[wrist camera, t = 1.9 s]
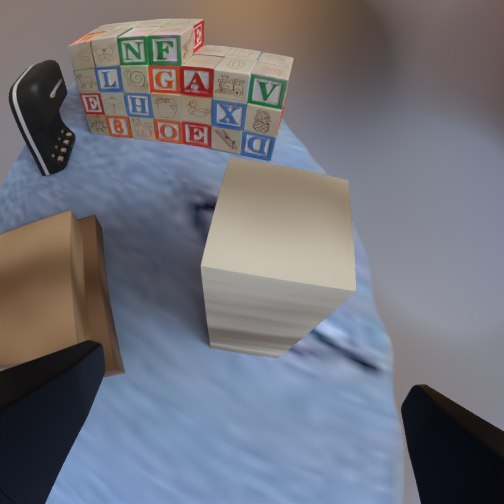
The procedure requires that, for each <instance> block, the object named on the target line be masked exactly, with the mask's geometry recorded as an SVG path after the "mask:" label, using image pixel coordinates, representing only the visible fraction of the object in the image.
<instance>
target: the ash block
mask: <svg viewBox="0 0 504 504" xmlns="http://www.w3.org/2000/svg"><path fill="white" fill-rule="evenodd" d="M201 275H202V284H203V293H204V301H205V310H206V318H207V325H208V333H209V340H210V347H211V348H215V349H221V350H226V351H232V352H239V353H245V354H252V355H259V356H266V357H274V358H278V357H280V356H281V355H282V354H283V353H285V352H286V351H287V350H288V349H290V348H291V347H292V346H293V345H295V344H296V343H297V342H298V341H299V340H301V339H302V338H303V337H304V336H306V335H307V334H308V333H309V332H310V331H311V330H313V329H314V328H315V327H316V326H317V325H319V324H320V323H321V322H322V321H323V320H324V319H325V318H327V317H328V316H329V315H330V314H331V313H332V312H333V311H335V310H336V309H337V308H338V307H339V306H340V305H341V304H342V303H343V302H345V301H346V300H347V299H348V298H349V297H350V296H351V295H352V294H353V293H354V292H355V291H356V281H355V257H354V240H353V226H352V214H351V205H350V194H349V185H348V180H344V179H340V178H336V177H332V176H328V175H323V174H319V173H314V172H310V171H305V170H300V169H295V168H290V167H285V166H280V165H275V164H269V163H264V162H258V161H252V160H246V159H240V158H234V157H229V161H228V164H227V168H226V171H225V175H224V178H223V182H222V185H221V189H220V193H219V196H218V200H217V204H216V207H215V211H214V215H213V219H212V222H211V226H210V230H209V234H208V238H207V242H206V246H205V250H204V254H203V258H202V262H201Z"/></svg>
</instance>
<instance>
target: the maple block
mask: <svg viewBox="0 0 504 504" xmlns="http://www.w3.org/2000/svg"><path fill="white" fill-rule="evenodd" d="M86 340H92V338H91V331H90V325H89V317H88V309H87V300H86V290H85V277H84V260H83V229H82V228H81V226H80V224H79V223H78V221H77V219H76V218H75V216H74V214H73V212H72V211H71V210H70V211H66V212H63V213H60V214H57V215H54V216H51V217H48V218H45V219H42V220H39V221H36V222H33V223H30V224H27V225H25V226H22V227H19V228H16V229H14V230H11V231H8V232H6V233H3V234H1V235H0V371H2V370H5V369H8V368H11V367H14V366H16V365H19V364H22V363H25V362H28V361H31V360H34V359H36V358H39V357H42V356H45V355H48V354H50V353H53V352H56V351H59V350H61V349H64V348H67V347H70V346H72V345H75V344H78V343H81V342H83V341H86Z"/></svg>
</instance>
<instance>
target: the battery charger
mask: <svg viewBox="0 0 504 504" xmlns="http://www.w3.org/2000/svg"><path fill="white" fill-rule="evenodd" d="M66 95H67V89H66V86H65V82H64V79H63V76H62V73H61V70H60V67H59V65H58V63H57V62H56V61H54V60H47V61H44V62H42V63H39V64H34V65H32V66H30V67H29V68H28V69H26V70H25V71H24V72H23V74H22V75H20V77H19V78H18V79H17V80H16V82H15V83H14V84H13V86H12V87H11V89H10V92H9V103H10V107H11V110H12V113H13V115H14V118H15V120H16V123H17V125H18V127H19V130H20V132H21V134H22V136H23V138H24V140H25V142H26V144H27V146H28V148H29V150H30V152H31V153H32V155H33V157H34V159H35V161H36V163H37V165H38V167H39V169H40V171H41V173H42V175H43V176H45V175H47V176H48V175H51V174H53V173H56V172H58V171H60V170H62V169H64V168H65V167H66V165H67V163H68V160H69V157H70V154H71V151H72V147H73V144H74V141H75V134H74V133H73V132H72V131H71V130H70V129H69V128H68V127H67V126H66V125H65V124H64V123H63V121H62V119H61V116H60V113H59V109H60V107H61V105H62V103H63V101H64V99H65V97H66Z"/></svg>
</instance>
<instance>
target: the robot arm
mask: <svg viewBox="0 0 504 504" xmlns="http://www.w3.org/2000/svg"><path fill="white" fill-rule="evenodd" d="M105 370H106V365H105V357H104V349H103V345H102V344H101V343H99V342H96V341H93V340H86V341H83V342H81V343H78V344H75V345H72V346H70V347H67V348H64V349H61V350H59V351H56V352H53V353H50V354H48V355H45V356H42V357H39V358H36V359H34V360H31V361H28V362H25V363H22V364H19V365H16V366H14V367H11V368H8V369H5V370H2V371H0V504H45V503H46V501H47V498H48V496H49V494H50V491H51V489H52V487H53V485H54V483H55V481H56V478H57V476H58V474H59V472H60V470H61V468H62V466H63V464H64V462H65V460H66V458H67V456H68V453H69V451H70V449H71V447H72V446H73V444H74V442H75V440H76V438H77V436H78V434H79V432H80V430H81V428H82V426H83V424H84V422H85V420H86V418H87V416H88V414H89V412H90V409H91V407H92V404H93V402H94V399H95V396H96V394H97V391H98V389H99V387H100V384H101V382H102V379H103V377H104V374H105ZM401 413H402V419H403V424H404V429H405V435H406V441H407V447H408V452H409V455H410V460H411V463H412V467H413V471H414V475H415V479H416V484H417V487H418V492H419V497H420V502H421V504H504V431H502V430H501V429H499V428H497V427H495V426H494V425H492V424H490V423H489V422H487V421H485V420H484V419H482V418H480V417H479V416H477V415H475V414H473V413H472V412H470V411H469V410H466V409H465V408H464V407H462V406H460V405H459V404H457V403H455V402H454V401H452V400H450V399H449V398H447V397H445V396H444V395H442V394H440V393H439V392H437V391H435V390H434V389H432V388H430V387H429V386H428V385H425V384H420V385H414V386H413V387H412V388H411V390H410V392H409V393H408V395H407V397H406V399H405V400H404V402H403V404H402V407H401Z"/></svg>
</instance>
